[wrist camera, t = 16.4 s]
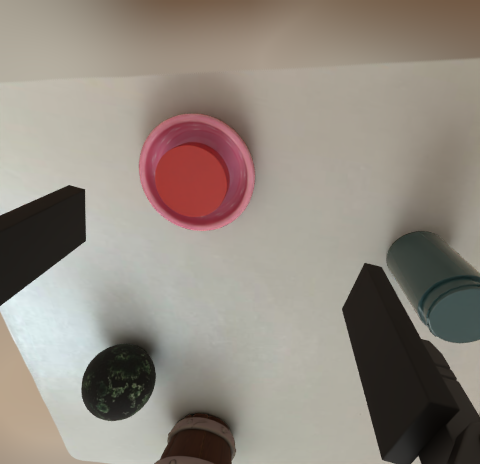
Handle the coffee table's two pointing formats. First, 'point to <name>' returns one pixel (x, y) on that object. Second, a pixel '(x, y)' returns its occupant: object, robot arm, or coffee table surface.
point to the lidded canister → (438, 285)
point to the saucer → (214, 137)
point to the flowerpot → (199, 442)
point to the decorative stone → (118, 382)
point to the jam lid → (192, 179)
